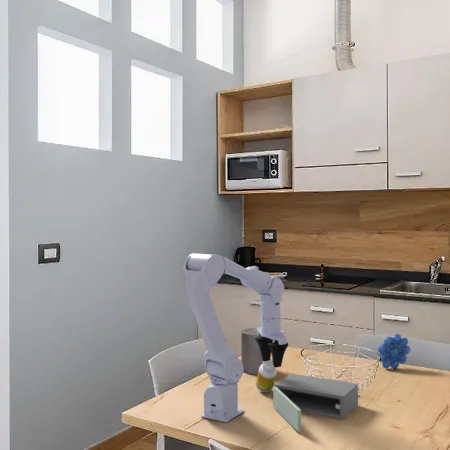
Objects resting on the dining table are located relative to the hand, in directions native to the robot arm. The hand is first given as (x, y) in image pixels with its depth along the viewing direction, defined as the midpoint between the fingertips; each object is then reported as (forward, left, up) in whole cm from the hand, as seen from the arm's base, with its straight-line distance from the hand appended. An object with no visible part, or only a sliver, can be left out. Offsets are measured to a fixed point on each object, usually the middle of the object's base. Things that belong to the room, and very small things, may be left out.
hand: (271, 363), depth 156 cm
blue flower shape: (+48, -22, -10) cm, 54 cm away
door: (-13, -10, -10) cm, 19 cm away
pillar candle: (+22, +18, -10) cm, 30 cm away
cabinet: (0, -13, -10) cm, 17 cm away
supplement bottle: (+5, +5, -9) cm, 12 cm away
